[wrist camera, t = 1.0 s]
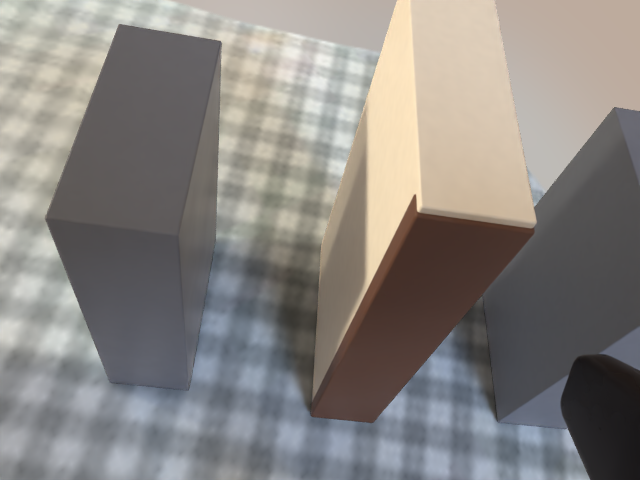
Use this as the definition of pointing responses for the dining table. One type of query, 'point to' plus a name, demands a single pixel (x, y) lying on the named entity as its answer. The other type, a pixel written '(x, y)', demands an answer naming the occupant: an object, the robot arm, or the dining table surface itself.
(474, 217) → the tan rectangular block
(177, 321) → the grey bookends
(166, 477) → the dining table surface
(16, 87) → the dining table surface
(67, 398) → the dining table surface
